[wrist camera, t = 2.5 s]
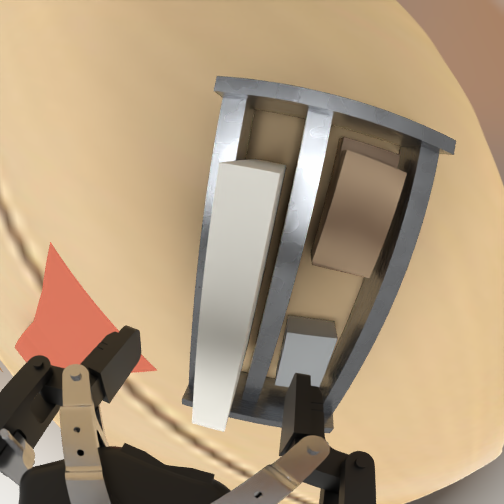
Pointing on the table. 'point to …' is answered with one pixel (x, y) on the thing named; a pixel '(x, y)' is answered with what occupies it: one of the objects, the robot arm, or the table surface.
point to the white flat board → (232, 281)
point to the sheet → (66, 321)
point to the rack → (297, 223)
